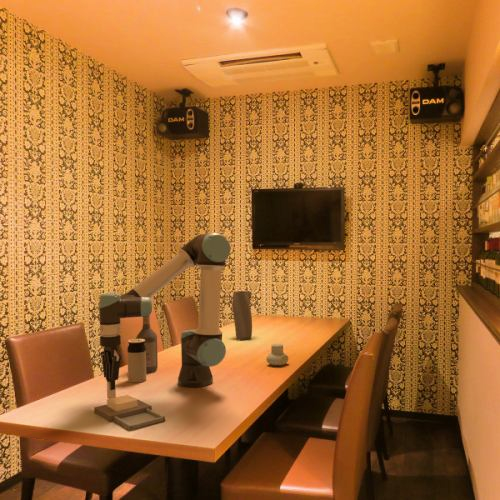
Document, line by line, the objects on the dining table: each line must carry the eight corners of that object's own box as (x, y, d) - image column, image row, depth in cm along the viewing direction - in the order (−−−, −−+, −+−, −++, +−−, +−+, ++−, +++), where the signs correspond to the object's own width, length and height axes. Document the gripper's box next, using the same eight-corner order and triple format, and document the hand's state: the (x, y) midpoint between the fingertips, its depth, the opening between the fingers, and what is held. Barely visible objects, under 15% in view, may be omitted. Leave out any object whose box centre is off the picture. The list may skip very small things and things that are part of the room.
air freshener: (278, 368, 242) (278, 347, 242) (264, 365, 247) (264, 345, 247) (290, 363, 250) (290, 343, 250) (276, 361, 255) (276, 342, 255)
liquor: (155, 372, 237) (153, 309, 236) (135, 373, 237) (134, 309, 236) (158, 368, 246) (157, 307, 245) (139, 368, 246) (138, 307, 245)
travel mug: (138, 383, 218) (138, 342, 218) (124, 381, 222) (123, 341, 221) (149, 379, 225) (149, 339, 225) (135, 377, 229) (134, 338, 229)
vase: (243, 341, 310) (242, 293, 309) (229, 339, 318) (228, 292, 318) (256, 338, 318) (255, 291, 318) (242, 336, 327) (241, 290, 327)
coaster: (127, 401, 187) (127, 394, 187) (137, 406, 181) (137, 399, 181) (107, 406, 182) (107, 399, 182) (116, 411, 176) (116, 404, 176)
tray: (148, 412, 180) (148, 408, 180) (165, 421, 171) (165, 416, 171) (114, 421, 172) (114, 416, 172) (130, 430, 162) (130, 426, 162)
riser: (134, 403, 191) (134, 398, 191) (151, 411, 181) (151, 406, 181) (94, 412, 181) (94, 407, 181) (109, 422, 171) (109, 416, 171)
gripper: (93, 334, 191) (94, 396, 191) (107, 338, 180) (109, 403, 181) (112, 331, 195) (113, 392, 196) (127, 335, 185) (128, 399, 185)
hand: (111, 397), depth 188 cm, fingers closed
